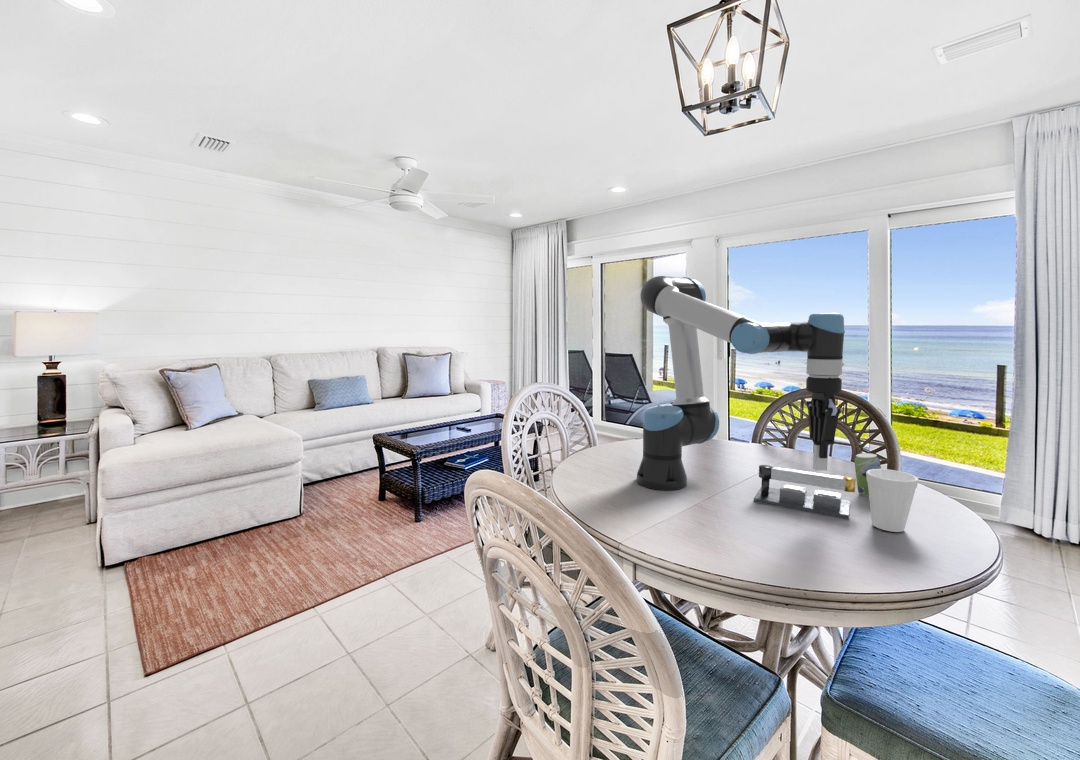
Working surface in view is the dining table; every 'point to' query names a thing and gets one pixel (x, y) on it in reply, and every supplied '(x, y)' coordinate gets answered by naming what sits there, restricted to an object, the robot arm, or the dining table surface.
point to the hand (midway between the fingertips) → (820, 469)
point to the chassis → (803, 500)
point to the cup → (890, 498)
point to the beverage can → (865, 470)
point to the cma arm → (807, 478)
